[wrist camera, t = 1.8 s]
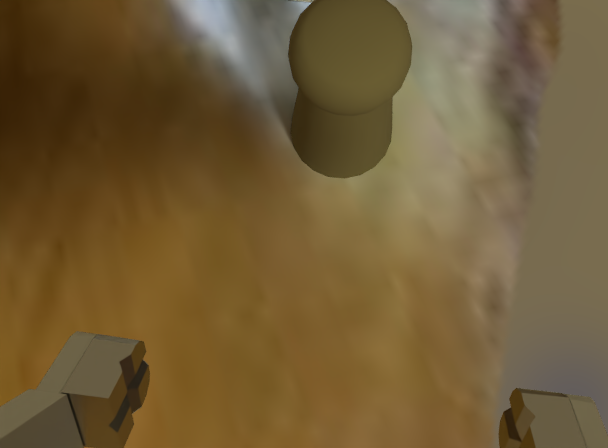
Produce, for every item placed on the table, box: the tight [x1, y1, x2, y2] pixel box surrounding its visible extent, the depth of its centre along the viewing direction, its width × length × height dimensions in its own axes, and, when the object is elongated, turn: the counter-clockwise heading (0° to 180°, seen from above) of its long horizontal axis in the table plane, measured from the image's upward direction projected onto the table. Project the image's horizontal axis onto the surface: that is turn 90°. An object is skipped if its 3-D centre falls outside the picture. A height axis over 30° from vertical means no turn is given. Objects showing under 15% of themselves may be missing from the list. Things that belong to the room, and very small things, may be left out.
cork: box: [288, 0, 412, 178], centre depth 26 cm, size 6×6×11 cm
